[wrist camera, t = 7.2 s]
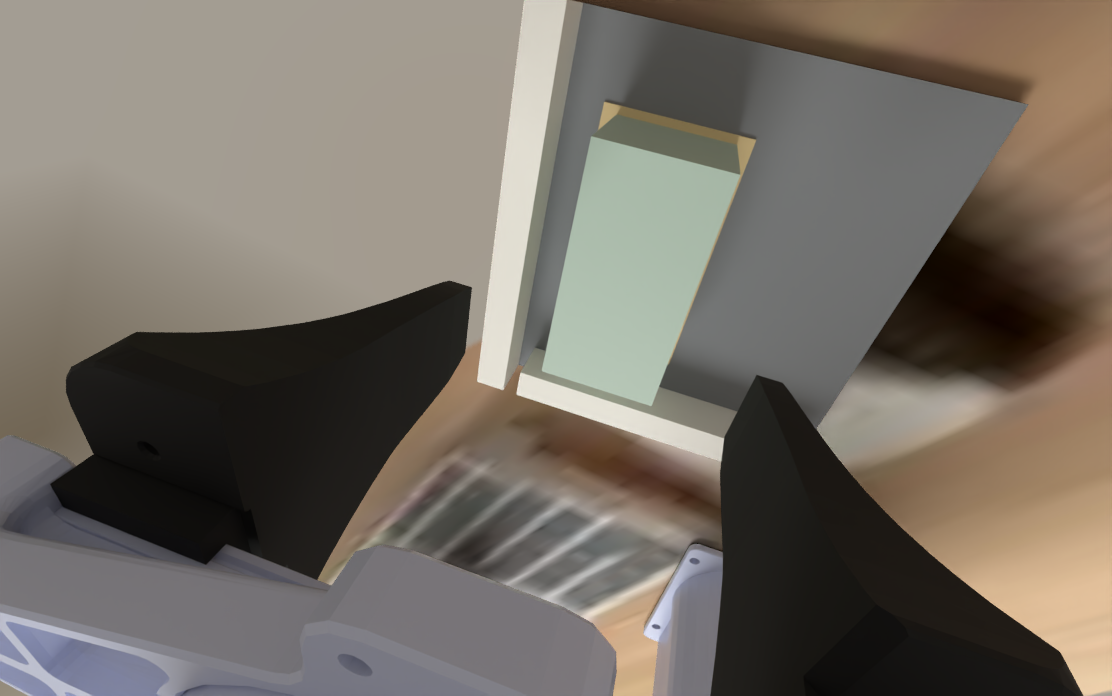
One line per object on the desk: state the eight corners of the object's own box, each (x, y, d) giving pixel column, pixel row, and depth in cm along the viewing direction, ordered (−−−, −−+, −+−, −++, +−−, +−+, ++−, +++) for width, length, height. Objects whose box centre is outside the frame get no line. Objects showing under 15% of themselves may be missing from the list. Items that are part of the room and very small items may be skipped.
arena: (797, 447, 22) (804, 489, 20) (497, 351, 24) (477, 381, 22) (1020, 102, 15) (1067, 114, 12) (550, -6, 16) (525, -9, 14)
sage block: (737, 144, 16) (740, 174, 13) (662, 346, 21) (651, 406, 18) (616, 114, 17) (591, 136, 14) (569, 318, 21) (541, 370, 18)
